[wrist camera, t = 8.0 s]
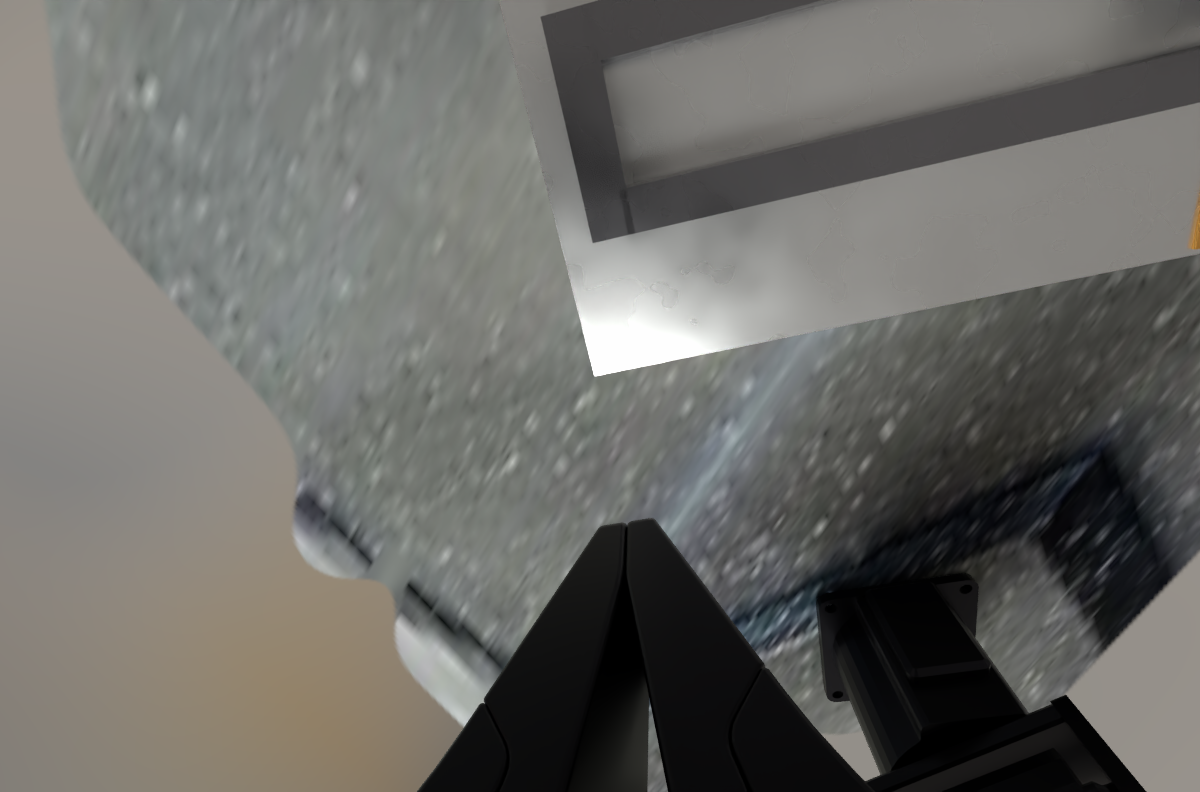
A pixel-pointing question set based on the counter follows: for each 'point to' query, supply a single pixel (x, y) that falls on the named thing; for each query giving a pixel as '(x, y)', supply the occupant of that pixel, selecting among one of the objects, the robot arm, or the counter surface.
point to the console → (850, 156)
